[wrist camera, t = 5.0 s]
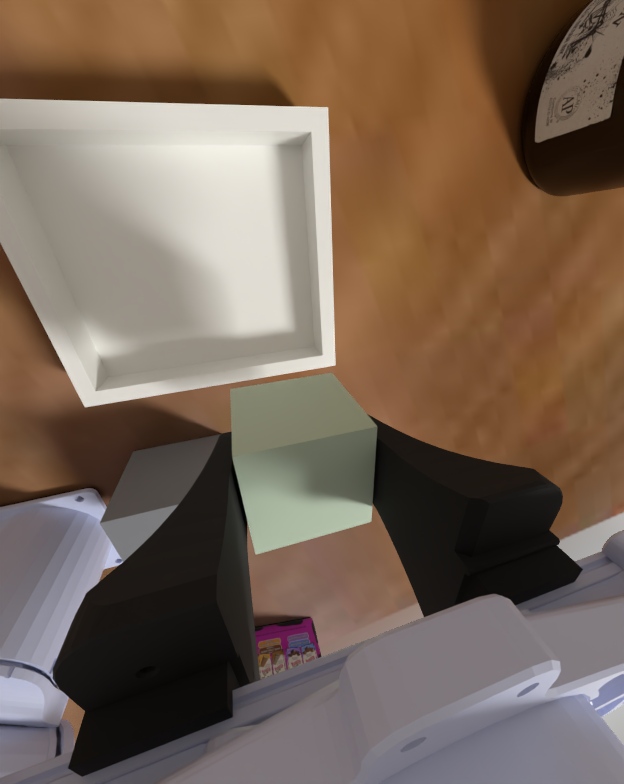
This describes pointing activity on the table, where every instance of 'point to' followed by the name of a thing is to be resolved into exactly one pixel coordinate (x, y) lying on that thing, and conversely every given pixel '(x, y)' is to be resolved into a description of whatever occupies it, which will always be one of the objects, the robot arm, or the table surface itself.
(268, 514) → the sage block
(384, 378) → the table surface
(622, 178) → the ink bottle
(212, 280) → the tray
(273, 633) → the candy bar box
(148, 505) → the gray block
